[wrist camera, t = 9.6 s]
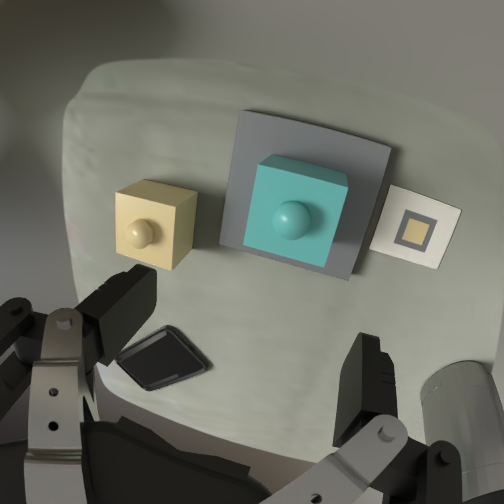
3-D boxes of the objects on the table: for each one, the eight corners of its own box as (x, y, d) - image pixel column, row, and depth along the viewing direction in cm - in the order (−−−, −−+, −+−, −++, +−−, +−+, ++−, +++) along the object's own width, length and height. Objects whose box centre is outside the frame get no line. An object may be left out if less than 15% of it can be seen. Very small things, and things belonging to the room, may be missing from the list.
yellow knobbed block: (198, 191, 28) (169, 211, 24) (192, 249, 31) (166, 276, 27) (143, 179, 29) (108, 195, 25) (141, 234, 32) (110, 257, 27)
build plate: (389, 146, 23) (393, 149, 21) (348, 274, 28) (348, 286, 26) (244, 109, 24) (236, 110, 22) (223, 239, 30) (214, 249, 28)
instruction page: (461, 209, 23) (461, 210, 23) (436, 269, 26) (437, 270, 25) (390, 184, 24) (390, 184, 24) (369, 248, 27) (369, 249, 26)
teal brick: (346, 173, 23) (348, 191, 19) (326, 242, 26) (323, 274, 21) (271, 154, 24) (254, 166, 19) (257, 223, 27) (239, 250, 22)
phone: (111, 358, 43) (167, 326, 36) (115, 353, 44) (171, 320, 37) (147, 392, 44) (210, 370, 38) (150, 388, 45) (213, 364, 39)
